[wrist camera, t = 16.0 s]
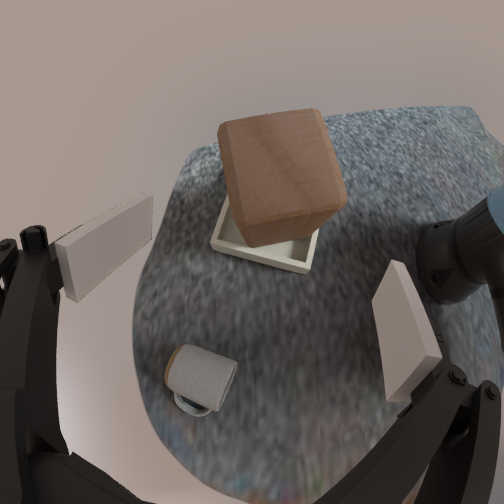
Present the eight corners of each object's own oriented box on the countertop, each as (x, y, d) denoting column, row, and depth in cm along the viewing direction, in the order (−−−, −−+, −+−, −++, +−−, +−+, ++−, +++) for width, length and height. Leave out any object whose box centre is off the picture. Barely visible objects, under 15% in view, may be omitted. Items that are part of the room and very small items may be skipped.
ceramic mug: (188, 339, 39) (172, 341, 31) (240, 358, 38) (235, 365, 30) (167, 400, 36) (148, 413, 28) (217, 421, 35) (208, 439, 28)
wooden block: (247, 249, 41) (232, 226, 22) (235, 187, 42) (213, 119, 22) (312, 237, 41) (353, 203, 21) (297, 175, 42) (321, 103, 22)
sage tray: (323, 193, 45) (327, 182, 42) (305, 275, 41) (310, 269, 38) (240, 172, 47) (239, 161, 43) (213, 250, 43) (209, 242, 39)
